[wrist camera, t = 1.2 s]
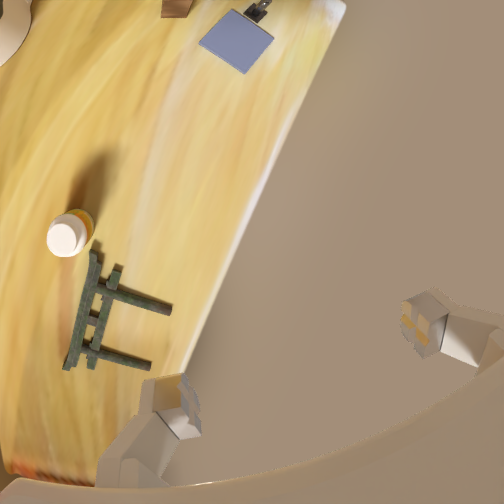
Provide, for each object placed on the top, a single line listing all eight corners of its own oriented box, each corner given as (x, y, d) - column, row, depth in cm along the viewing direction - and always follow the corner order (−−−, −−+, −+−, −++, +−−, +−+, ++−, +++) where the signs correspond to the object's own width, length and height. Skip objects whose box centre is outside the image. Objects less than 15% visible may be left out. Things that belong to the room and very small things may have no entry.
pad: (198, 43, 37) (199, 42, 37) (230, 10, 37) (231, 9, 37) (244, 74, 41) (245, 73, 41) (272, 40, 41) (274, 38, 40)
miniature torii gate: (142, 391, 47) (62, 369, 40) (141, 383, 49) (63, 362, 42) (182, 284, 45) (89, 251, 38) (180, 279, 47) (91, 247, 40)
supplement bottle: (85, 201, 38) (69, 208, 29) (100, 234, 40) (89, 249, 31) (55, 219, 37) (34, 230, 28) (71, 251, 39) (54, 270, 30)
